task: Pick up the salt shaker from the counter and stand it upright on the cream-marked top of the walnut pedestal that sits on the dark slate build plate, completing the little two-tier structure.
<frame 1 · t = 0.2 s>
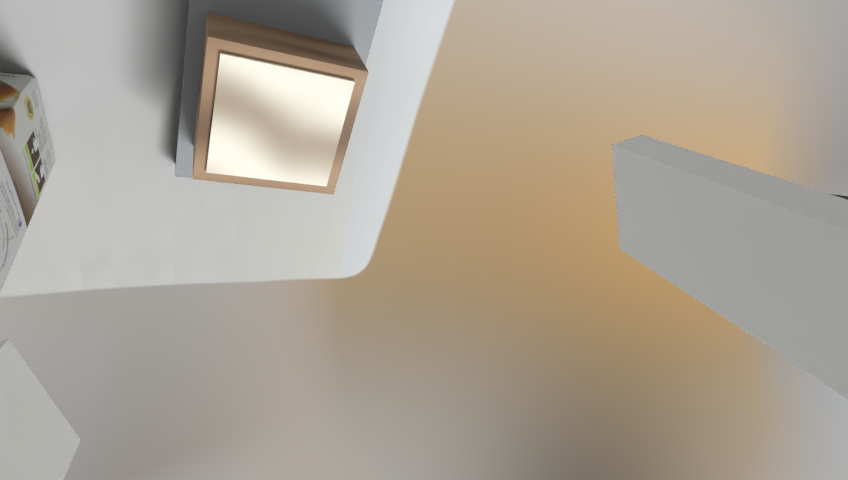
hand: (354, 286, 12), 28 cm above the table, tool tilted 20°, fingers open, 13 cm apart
build plate: (281, 30, 34), on the table
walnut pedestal: (270, 87, 36), resting on build plate
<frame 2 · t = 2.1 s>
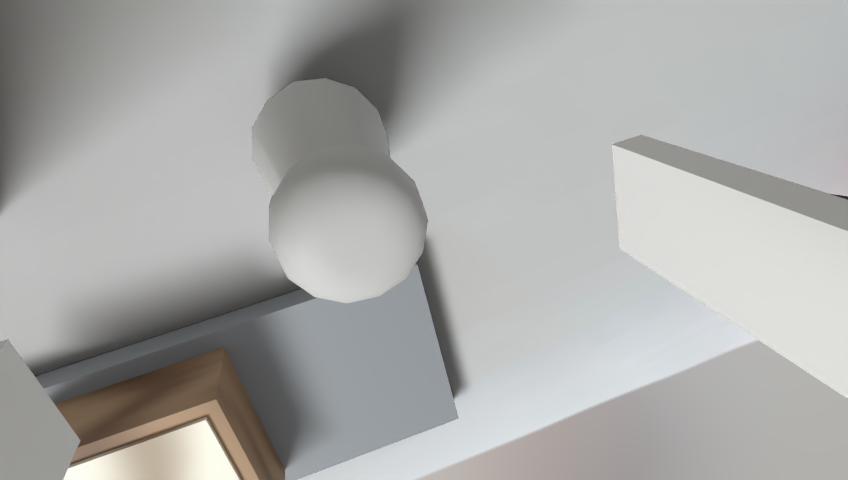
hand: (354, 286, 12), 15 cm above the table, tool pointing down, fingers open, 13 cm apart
salt shaker: (317, 135, 25), on the table
build plate: (248, 398, 30), on the table
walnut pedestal: (177, 423, 29), resting on build plate
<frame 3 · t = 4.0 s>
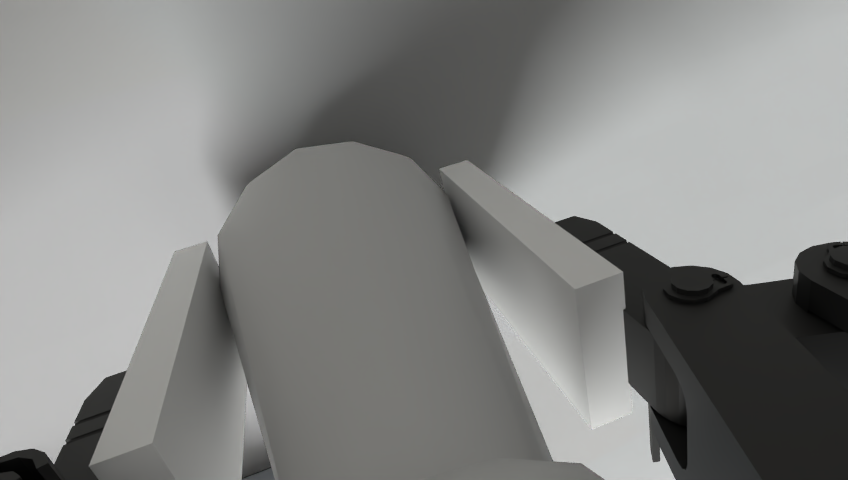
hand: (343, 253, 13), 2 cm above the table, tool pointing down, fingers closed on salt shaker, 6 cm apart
salt shaker: (334, 224, 15), on the table, touching gripper
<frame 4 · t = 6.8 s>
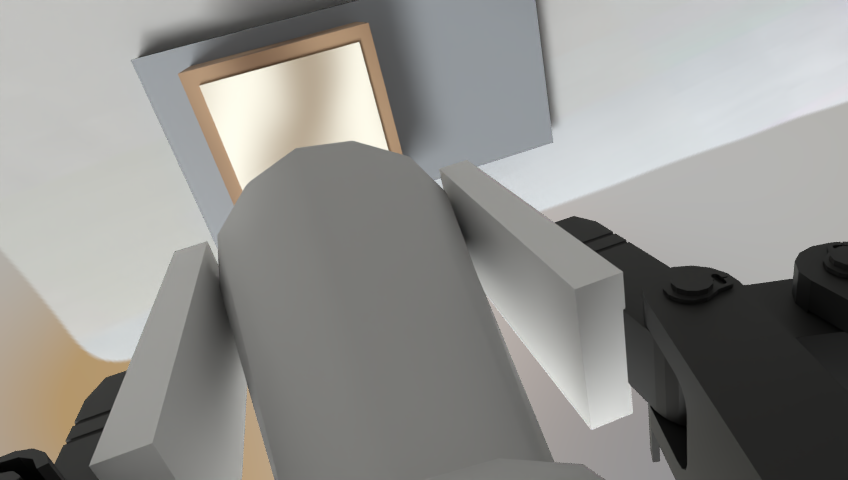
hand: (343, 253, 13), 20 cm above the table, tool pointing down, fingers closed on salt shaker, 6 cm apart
salt shaker: (334, 224, 15), point 18 cm above the table, touching gripper
build plate: (365, 102, 32), on the table
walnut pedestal: (301, 121, 31), resting on build plate
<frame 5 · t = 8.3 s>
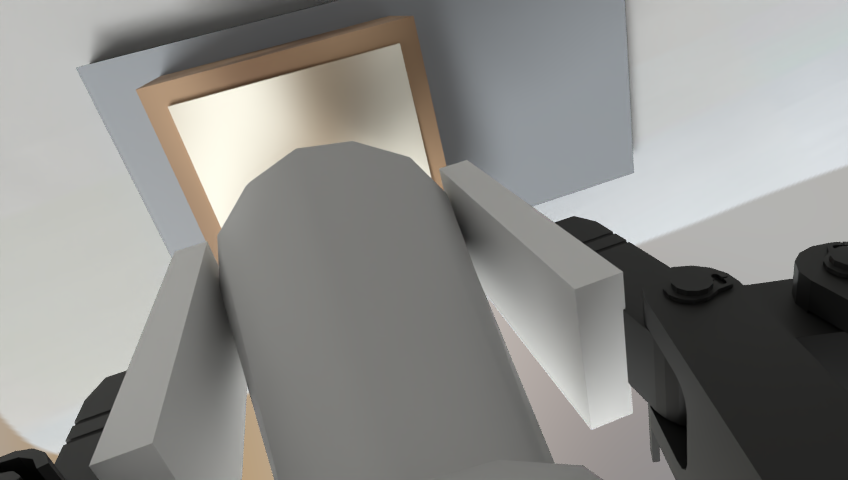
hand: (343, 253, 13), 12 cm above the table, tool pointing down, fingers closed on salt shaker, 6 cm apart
salt shaker: (334, 224, 15), point 10 cm above the table, touching gripper
build plate: (396, 123, 24), on the table
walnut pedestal: (312, 147, 24), resting on build plate
when the fingers open (9 cm above the table, at t = 9.6 s): salt shaker drops 1 cm, resting on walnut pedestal.
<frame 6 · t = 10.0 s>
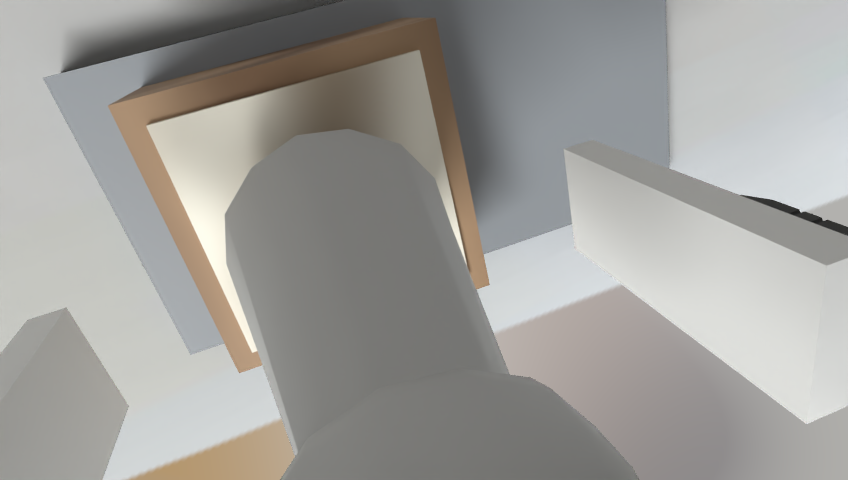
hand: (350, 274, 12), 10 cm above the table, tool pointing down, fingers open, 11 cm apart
salt shaker: (331, 208, 16), point 6 cm above the table, touching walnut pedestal
build plate: (408, 137, 22), on the table
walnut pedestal: (315, 165, 21), resting on build plate
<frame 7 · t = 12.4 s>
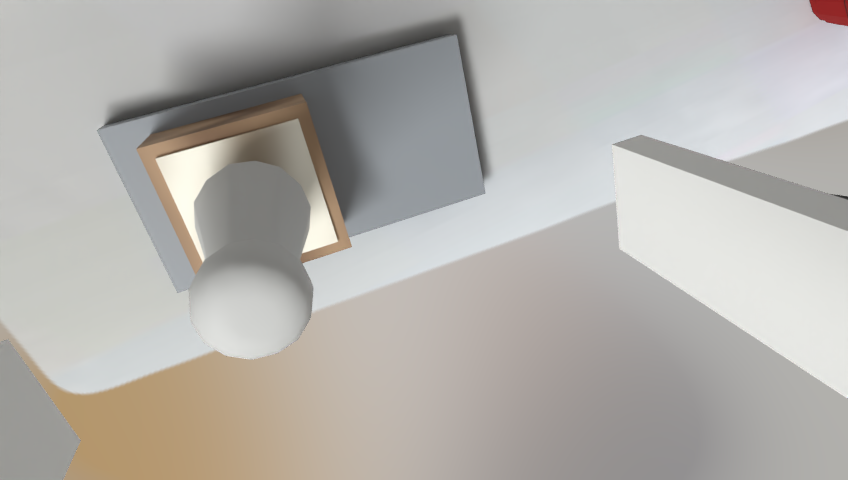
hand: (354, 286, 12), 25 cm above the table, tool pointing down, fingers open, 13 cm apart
salt shaker: (254, 201, 30), point 6 cm above the table, touching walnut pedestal
build plate: (312, 160, 35), on the table
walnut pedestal: (254, 177, 35), resting on build plate
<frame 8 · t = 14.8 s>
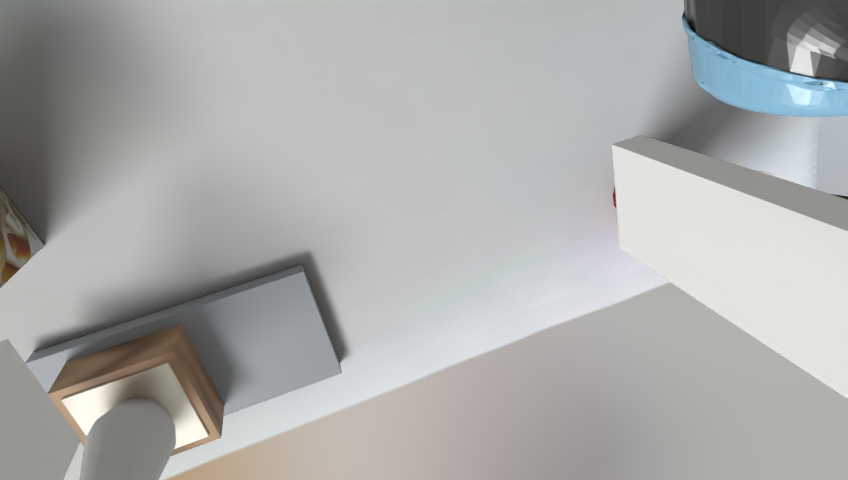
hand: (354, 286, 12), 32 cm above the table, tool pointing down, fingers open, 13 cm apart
salt shaker: (140, 416, 40), point 6 cm above the table, touching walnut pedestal
build plate: (199, 358, 46), on the table
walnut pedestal: (153, 374, 45), resting on build plate
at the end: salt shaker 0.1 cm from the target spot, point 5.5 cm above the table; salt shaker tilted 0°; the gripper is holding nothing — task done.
